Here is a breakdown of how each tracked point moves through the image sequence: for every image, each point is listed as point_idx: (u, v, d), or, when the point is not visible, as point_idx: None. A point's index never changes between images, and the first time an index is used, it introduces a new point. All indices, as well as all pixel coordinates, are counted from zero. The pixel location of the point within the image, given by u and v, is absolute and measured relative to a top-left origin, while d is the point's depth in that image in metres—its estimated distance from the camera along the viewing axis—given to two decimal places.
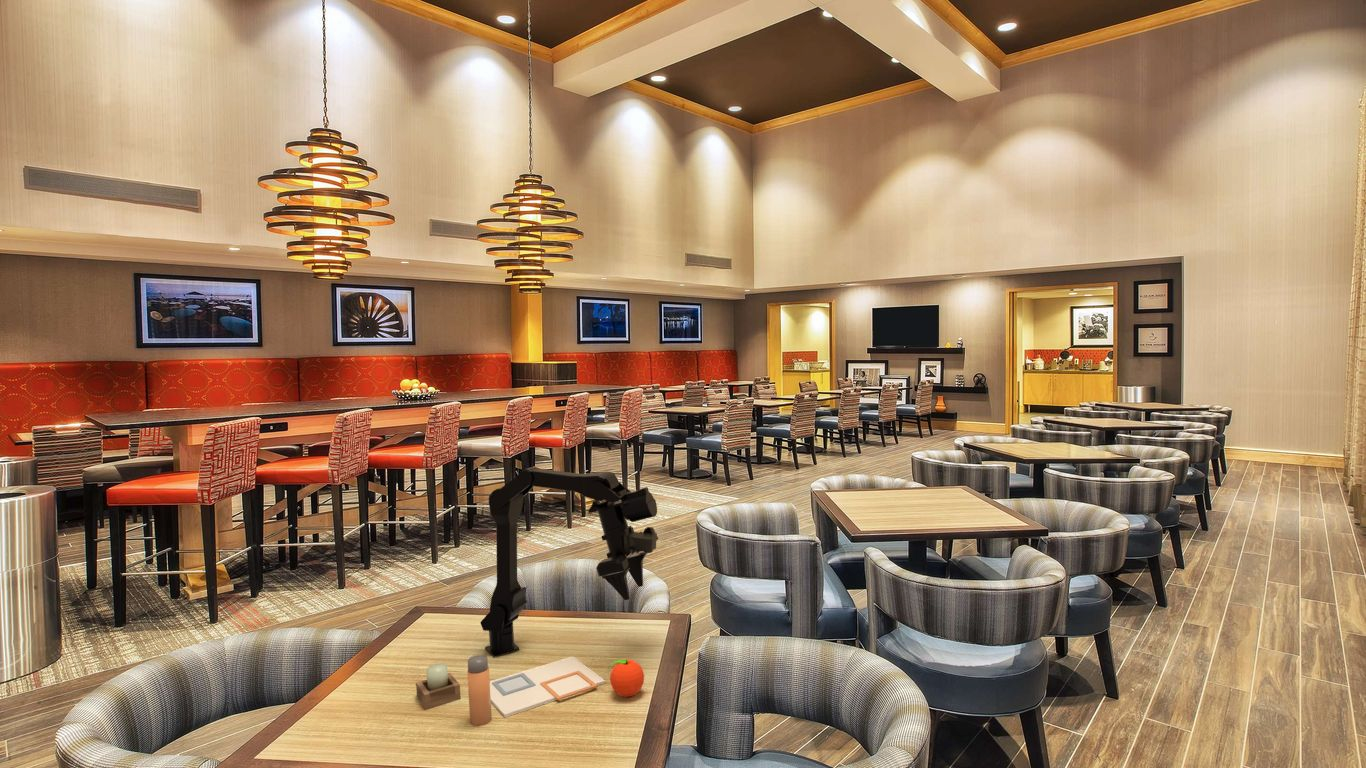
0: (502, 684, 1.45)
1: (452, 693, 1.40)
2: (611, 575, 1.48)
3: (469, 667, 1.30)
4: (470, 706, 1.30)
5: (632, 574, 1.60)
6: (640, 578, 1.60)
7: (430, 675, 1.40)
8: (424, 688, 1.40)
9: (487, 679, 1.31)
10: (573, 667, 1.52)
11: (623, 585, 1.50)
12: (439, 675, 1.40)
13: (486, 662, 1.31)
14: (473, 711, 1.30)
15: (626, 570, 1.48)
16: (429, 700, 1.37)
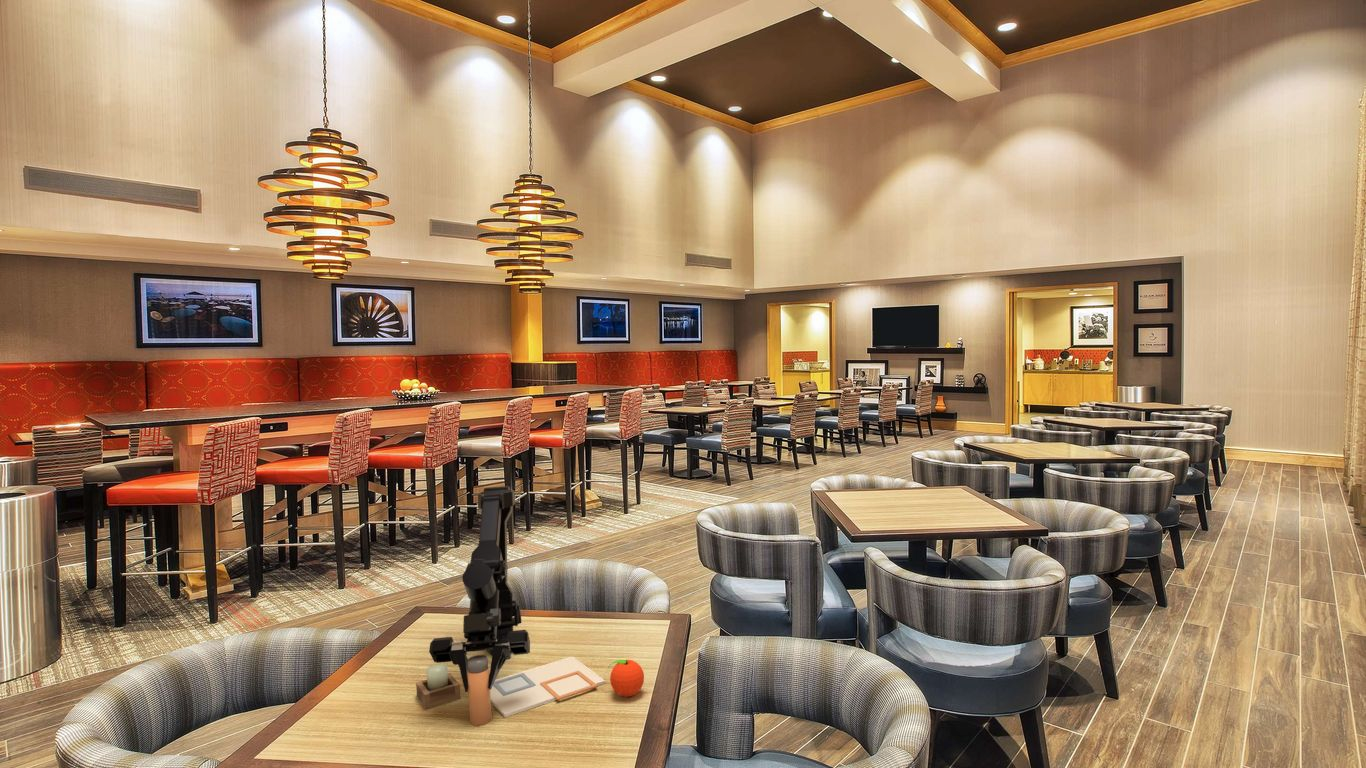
0: (502, 684, 1.45)
1: (452, 693, 1.40)
2: None
3: (469, 667, 1.30)
4: (470, 706, 1.30)
5: None
6: None
7: (430, 675, 1.40)
8: (424, 688, 1.40)
9: (487, 679, 1.31)
10: (573, 667, 1.52)
11: None
12: (439, 675, 1.40)
13: (486, 662, 1.31)
14: (473, 711, 1.30)
15: (452, 650, 1.32)
16: (429, 700, 1.37)
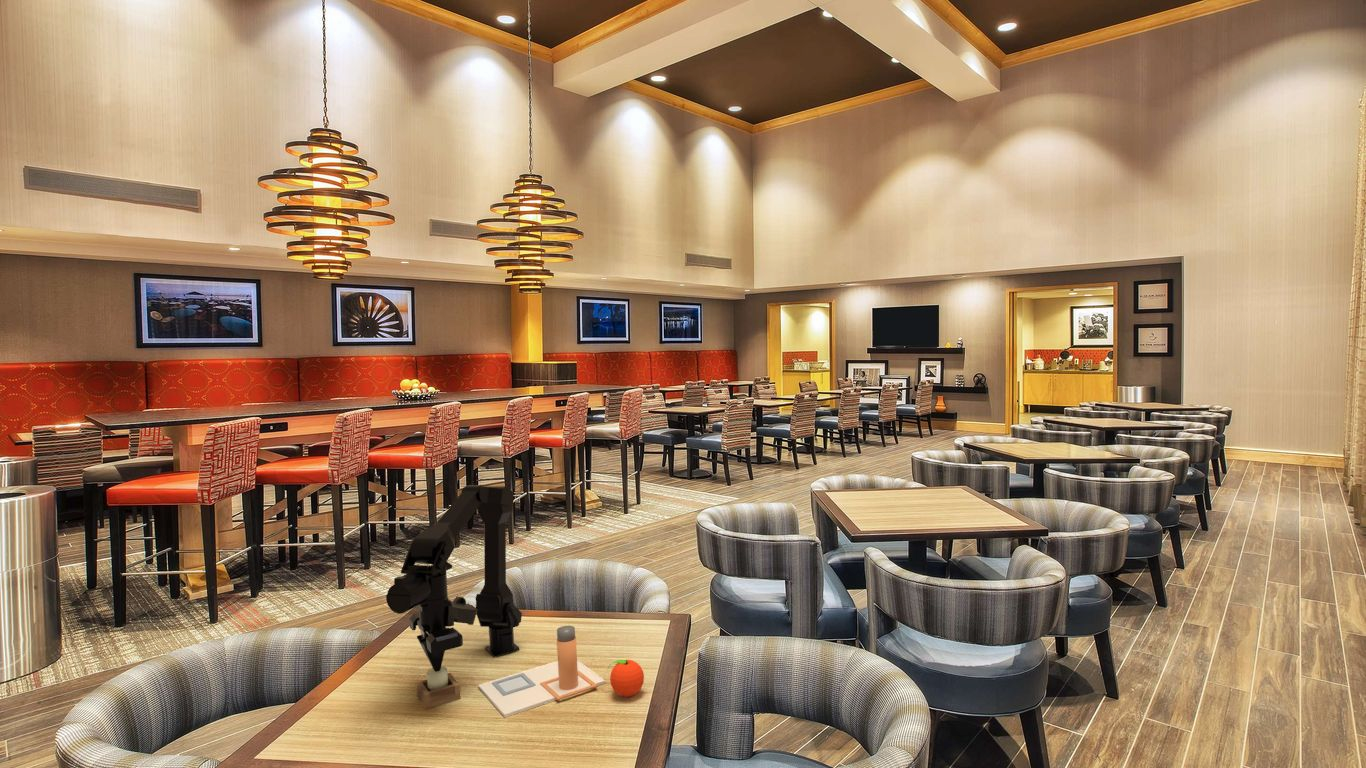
0: (502, 684, 1.45)
1: (452, 693, 1.40)
2: None
3: (563, 637, 1.41)
4: (564, 673, 1.41)
5: None
6: None
7: (430, 678, 1.40)
8: (424, 688, 1.40)
9: None
10: None
11: (441, 655, 1.41)
12: (439, 678, 1.40)
13: None
14: (568, 676, 1.41)
15: None
16: (429, 700, 1.37)
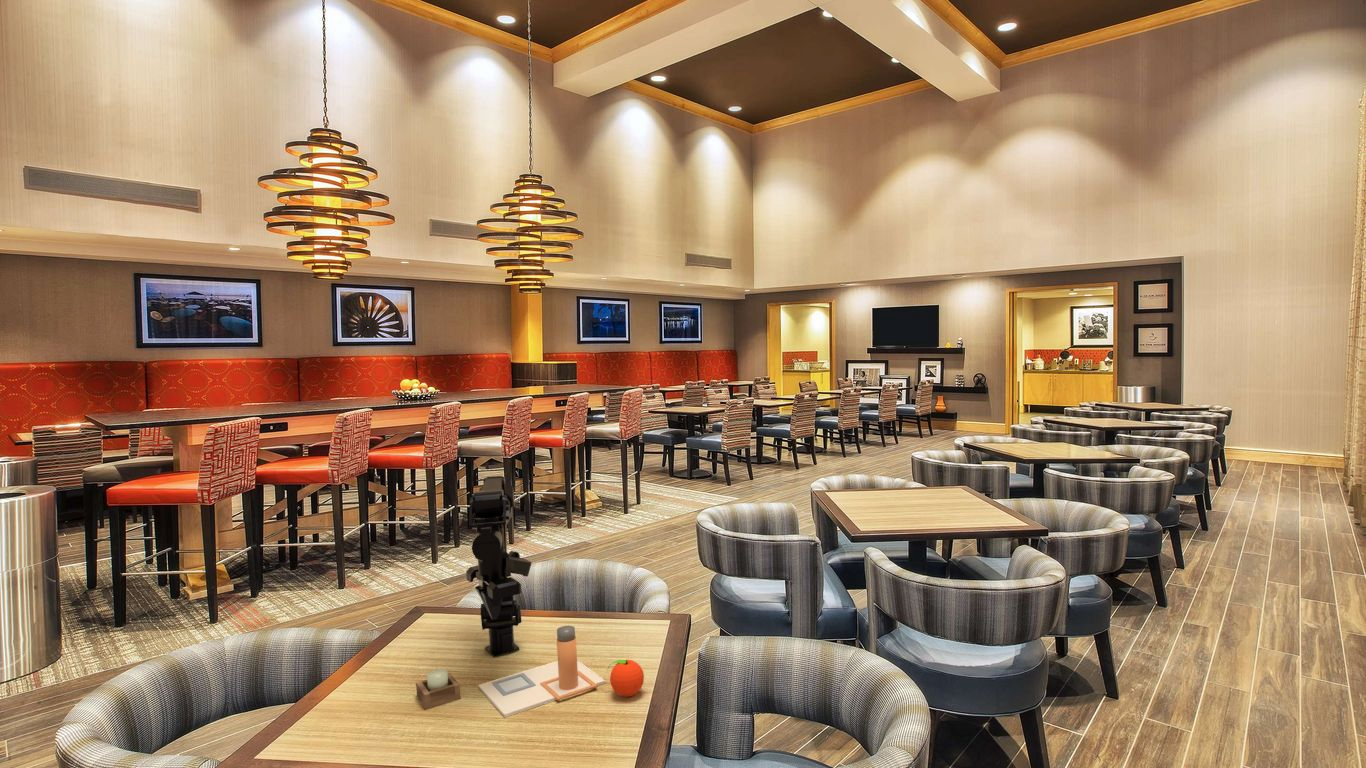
0: (502, 684, 1.45)
1: (452, 693, 1.40)
2: None
3: (563, 637, 1.41)
4: (564, 673, 1.41)
5: None
6: None
7: (430, 681, 1.40)
8: (424, 688, 1.40)
9: None
10: None
11: (498, 604, 1.49)
12: (439, 681, 1.40)
13: None
14: (568, 676, 1.41)
15: None
16: (429, 700, 1.37)
